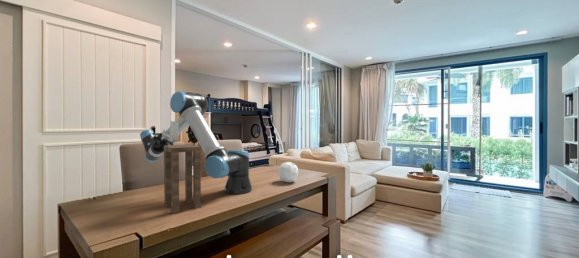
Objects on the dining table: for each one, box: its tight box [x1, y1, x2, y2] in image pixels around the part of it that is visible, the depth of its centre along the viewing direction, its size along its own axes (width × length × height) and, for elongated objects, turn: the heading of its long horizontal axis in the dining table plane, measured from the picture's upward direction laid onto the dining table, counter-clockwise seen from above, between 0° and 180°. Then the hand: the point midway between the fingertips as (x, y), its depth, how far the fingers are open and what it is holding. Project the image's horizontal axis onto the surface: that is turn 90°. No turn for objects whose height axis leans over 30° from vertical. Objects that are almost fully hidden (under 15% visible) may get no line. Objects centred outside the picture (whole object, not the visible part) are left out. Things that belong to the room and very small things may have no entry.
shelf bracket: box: [163, 120, 179, 143], centre depth 130 cm, size 20×3×10 cm, turn 42°
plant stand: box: [163, 143, 202, 214], centre depth 115 cm, size 13×12×28 cm
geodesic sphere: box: [277, 161, 299, 184], centre depth 163 cm, size 14×14×14 cm
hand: (168, 132), depth 130 cm, fingers closed on shelf bracket, 3 cm apart
